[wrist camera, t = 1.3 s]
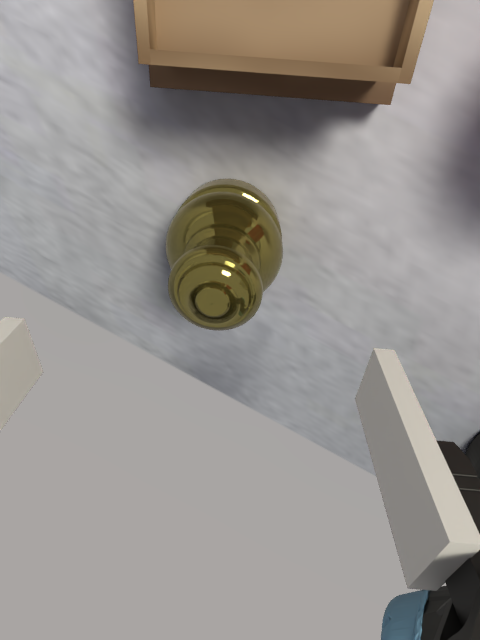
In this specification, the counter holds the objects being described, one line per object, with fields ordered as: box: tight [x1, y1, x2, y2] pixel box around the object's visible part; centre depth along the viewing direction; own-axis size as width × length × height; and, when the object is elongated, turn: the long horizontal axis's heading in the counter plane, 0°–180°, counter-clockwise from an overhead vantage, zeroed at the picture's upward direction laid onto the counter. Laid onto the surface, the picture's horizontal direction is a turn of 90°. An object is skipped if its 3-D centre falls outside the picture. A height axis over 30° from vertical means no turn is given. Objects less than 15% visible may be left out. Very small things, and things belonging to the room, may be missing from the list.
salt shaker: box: [166, 179, 283, 330], centre depth 22 cm, size 7×7×10 cm
